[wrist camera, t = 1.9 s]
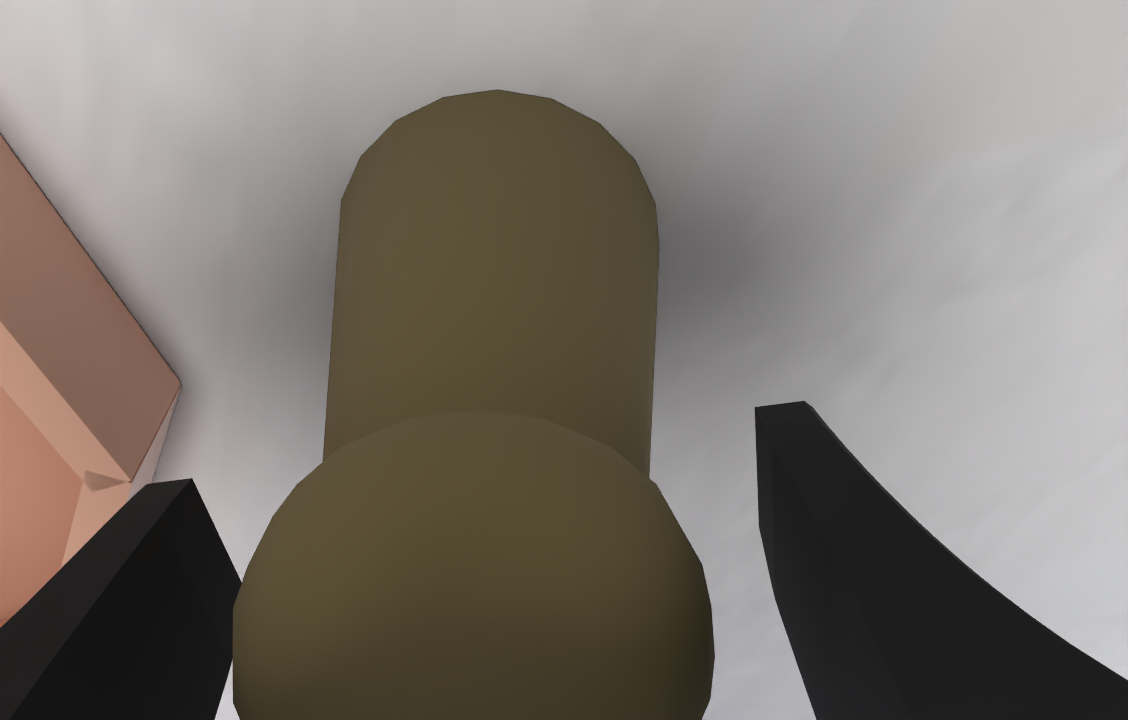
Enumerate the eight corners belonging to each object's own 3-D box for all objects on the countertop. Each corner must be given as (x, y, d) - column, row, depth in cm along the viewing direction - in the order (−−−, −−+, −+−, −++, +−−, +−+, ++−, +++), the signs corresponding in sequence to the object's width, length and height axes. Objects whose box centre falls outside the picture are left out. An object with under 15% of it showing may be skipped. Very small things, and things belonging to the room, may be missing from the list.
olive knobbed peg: (647, 378, 20) (741, 935, 11) (353, 377, 20) (206, 943, 11) (673, 92, 17) (837, 558, 8) (320, 87, 17) (66, 560, 8)
